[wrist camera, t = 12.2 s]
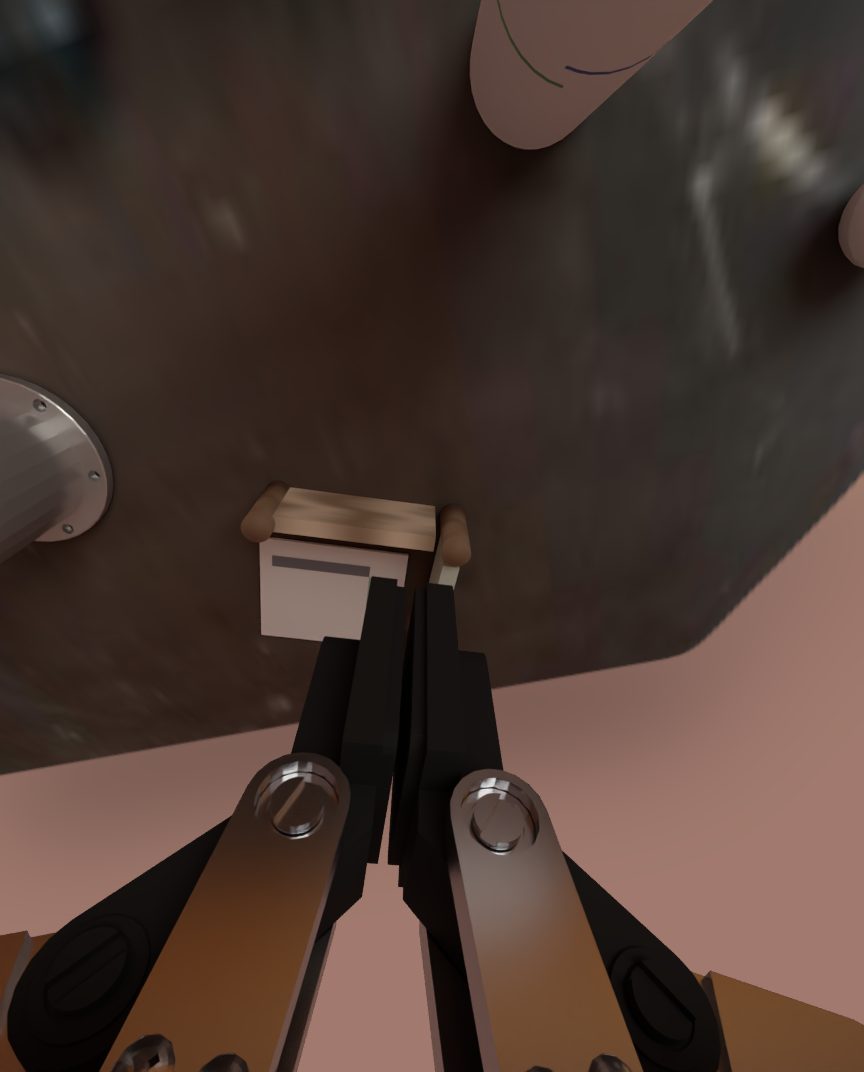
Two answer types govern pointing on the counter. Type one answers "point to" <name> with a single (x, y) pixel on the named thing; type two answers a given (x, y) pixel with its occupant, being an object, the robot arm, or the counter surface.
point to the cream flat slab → (443, 570)
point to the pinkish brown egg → (853, 229)
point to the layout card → (320, 587)
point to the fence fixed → (357, 521)
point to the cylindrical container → (562, 59)
